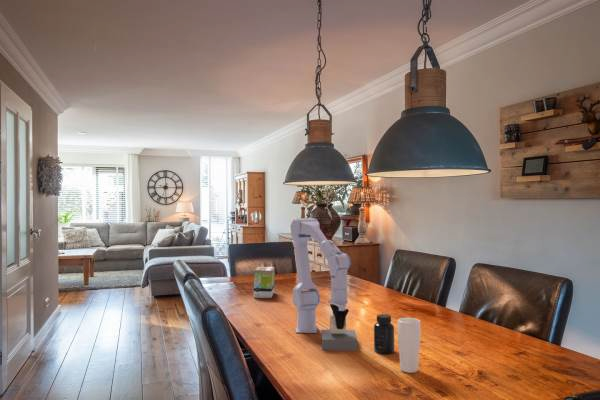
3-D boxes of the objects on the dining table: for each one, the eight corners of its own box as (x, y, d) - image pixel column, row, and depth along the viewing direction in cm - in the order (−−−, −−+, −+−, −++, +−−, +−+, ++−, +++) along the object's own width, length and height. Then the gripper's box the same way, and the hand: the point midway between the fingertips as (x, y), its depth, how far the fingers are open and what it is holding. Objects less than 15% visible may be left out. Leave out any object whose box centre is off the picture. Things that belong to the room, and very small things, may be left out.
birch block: (330, 329, 160) (330, 315, 160) (343, 329, 160) (343, 315, 160) (331, 333, 155) (331, 318, 155) (346, 333, 155) (345, 318, 155)
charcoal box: (321, 340, 164) (321, 329, 164) (354, 341, 163) (354, 330, 163) (321, 351, 152) (322, 339, 152) (357, 352, 151) (357, 340, 151)
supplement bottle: (380, 346, 156) (380, 312, 156) (397, 350, 151) (398, 315, 151) (370, 351, 150) (370, 316, 150) (388, 356, 146) (388, 319, 146)
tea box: (272, 298, 234) (272, 270, 234) (253, 298, 235) (253, 270, 235) (274, 292, 249) (274, 266, 250) (256, 292, 250) (256, 266, 250)
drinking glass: (416, 366, 137) (416, 317, 137) (423, 374, 130) (423, 323, 130) (394, 366, 137) (395, 317, 137) (400, 374, 130) (400, 323, 130)
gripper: (325, 284, 165) (325, 321, 164) (330, 292, 150) (329, 332, 150) (344, 284, 165) (344, 321, 165) (350, 292, 150) (350, 332, 150)
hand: (338, 326), depth 157 cm, fingers closed on birch block, 5 cm apart
